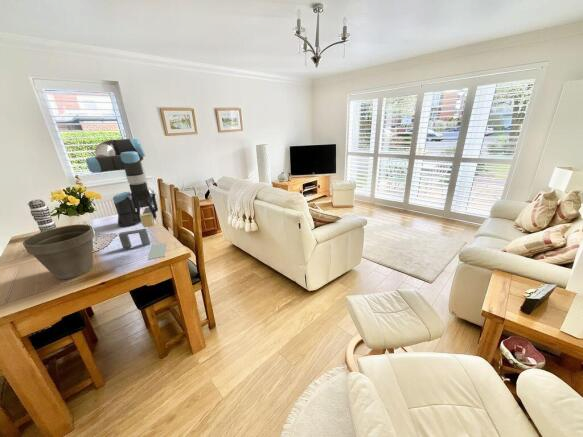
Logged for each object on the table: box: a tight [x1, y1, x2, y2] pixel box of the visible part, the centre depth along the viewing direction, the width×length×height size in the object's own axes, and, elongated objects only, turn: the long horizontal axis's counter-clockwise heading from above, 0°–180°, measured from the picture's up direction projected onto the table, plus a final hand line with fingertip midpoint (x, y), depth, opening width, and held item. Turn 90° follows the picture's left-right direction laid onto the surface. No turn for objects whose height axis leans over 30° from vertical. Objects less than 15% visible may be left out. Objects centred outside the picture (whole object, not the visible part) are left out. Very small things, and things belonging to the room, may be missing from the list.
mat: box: [148, 242, 168, 261], centre depth 141 cm, size 18×8×1 cm, turn 22°
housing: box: [118, 228, 151, 250], centre depth 145 cm, size 3×14×10 cm, turn 112°
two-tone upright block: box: [141, 206, 157, 229], centre depth 134 cm, size 16×4×6 cm, turn 22°
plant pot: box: [22, 223, 95, 280], centre depth 119 cm, size 25×25×22 cm
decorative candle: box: [27, 199, 57, 233], centre depth 163 cm, size 9×9×25 cm
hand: (149, 224), depth 130 cm, fingers closed on two-tone upright block, 4 cm apart
